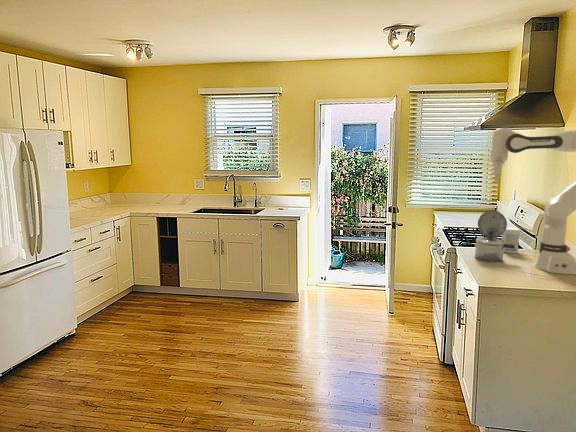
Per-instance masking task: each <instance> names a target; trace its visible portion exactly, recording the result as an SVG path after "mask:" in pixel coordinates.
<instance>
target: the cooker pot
mask: <svg viewBox="0 0 576 432" xmlns="http://www.w3.org/2000/svg"><path fill="white" fill-rule="evenodd" d="M504 247H505V248H514V249H515V244H506V243H505V241H503V240H502V239H500V238H497V237H494V238H488V237H487V236H485V237H477V238H476V239H475V251H474V259H476V260H479V261H481V262H485V261H486V263H487V262H488V263H501V262H503V260H504V253H505V252H504Z"/></svg>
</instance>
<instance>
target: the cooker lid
mask: <svg viewBox="0 0 576 432" xmlns="http://www.w3.org/2000/svg"><path fill="white" fill-rule="evenodd" d="M477 227H478V230H479V232H480V233H481V234H482V235H483V236H485V237H487V238H497V237H501V236H502V234H503V233H504V232H505V230H506V228H507V227H508V221H507V218H506V216H505V215H504V214H503V213H502V212H500V211H496V210H488V211H485V212H483V213H482V214H481V215H480V216H479V218H478V221H477Z"/></svg>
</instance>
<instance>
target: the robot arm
mask: <svg viewBox="0 0 576 432" xmlns="http://www.w3.org/2000/svg"><path fill="white" fill-rule="evenodd" d="M491 140H492V141H491V145H492V146H491V147H492V148H491V150H490V159H489V160H490V161H492V164H493V175H494V182H495V183H497V184H498V183H499V178H500V176H501V175H502V169H503V164H505V163H506V161H507V162H508V158H509V157H508V156H509V152H510V153H513V154H517V153H521V152H524V151H525V150H532V149H533V150H537V149H540V150H541V149H547V150H549V149H550V150H554V151H557V152H564V153H572V152H573V153H576V130H565V131H559V132H556V133H554V134H550V135H544V136H543V135H542V136H526V135H523V134H520V133H519V132H515V131H514V130H512V129H510V127H502V128H497V129H495V130H494V132H493V134H492V139H491ZM575 211H576V181H575V182H573V183H572V184H570V185H569V186H568V187H567V188H566V189H565V190H563V191H562V192H561V193H560V194H559V195H557V196H552V197H550V198H548V199H547V200H546V202H545V205H544V213H543V223H542V233H541V241H540V243H539V245H538V246H539V248H538V252H539V253H538V257H537V260H536V263H535V264H534V268H536V269H539V270H542V271H545V272H548V273H552V274H564V275H565V274H566V275H575V276H576V257H574V256H573V255H572V254H571V253H570V252H569V251H571V247H570V246H568V245H567V244H565V243H566V236H567V226H568V225H567V223H568V217H569V216H570V215H571V214H573V213H574V212H575Z"/></svg>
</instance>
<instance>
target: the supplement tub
mask: <svg viewBox="0 0 576 432" xmlns="http://www.w3.org/2000/svg"><path fill="white" fill-rule="evenodd" d="M501 240H503V241H505V243H506V244H515V249H514V248H505V247H504V252H503V253H508V254H516V253H518V251H519V242H520V228H518V227H511V226H507V228H506V230H505V232H504V233H503V234H502V235H501Z"/></svg>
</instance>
